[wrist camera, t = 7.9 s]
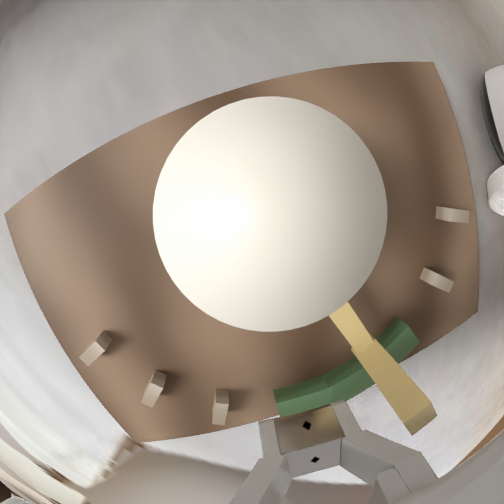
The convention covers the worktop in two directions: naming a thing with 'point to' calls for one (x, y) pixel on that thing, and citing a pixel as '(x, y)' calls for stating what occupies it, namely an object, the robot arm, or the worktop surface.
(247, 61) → the worktop surface
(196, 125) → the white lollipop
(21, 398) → the worktop surface
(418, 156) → the gauge board
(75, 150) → the worktop surface
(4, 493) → the plant pot
